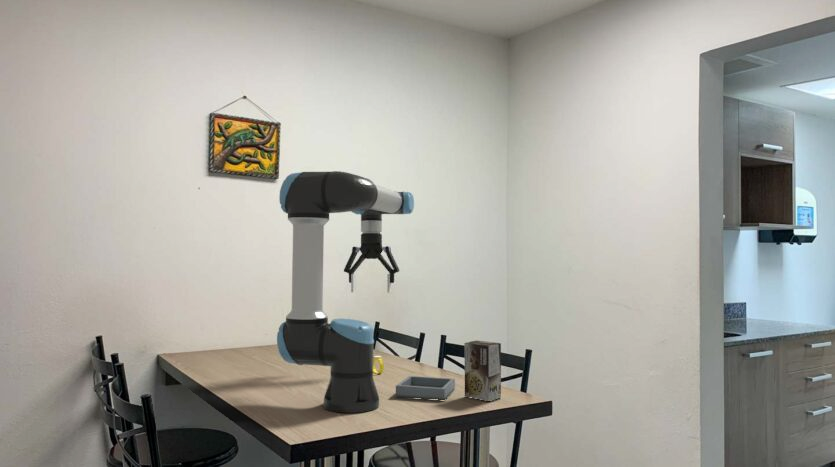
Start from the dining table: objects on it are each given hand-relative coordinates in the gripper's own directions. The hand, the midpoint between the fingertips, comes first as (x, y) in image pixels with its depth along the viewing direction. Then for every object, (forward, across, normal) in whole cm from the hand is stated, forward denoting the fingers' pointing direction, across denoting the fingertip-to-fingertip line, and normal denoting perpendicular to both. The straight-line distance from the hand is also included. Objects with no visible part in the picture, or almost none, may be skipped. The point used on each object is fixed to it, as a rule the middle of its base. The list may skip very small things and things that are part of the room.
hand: (371, 292), depth 219 cm
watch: (+28, -3, +4) cm, 28 cm away
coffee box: (+29, -44, +29) cm, 60 cm away
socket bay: (+29, -27, +29) cm, 49 cm away
